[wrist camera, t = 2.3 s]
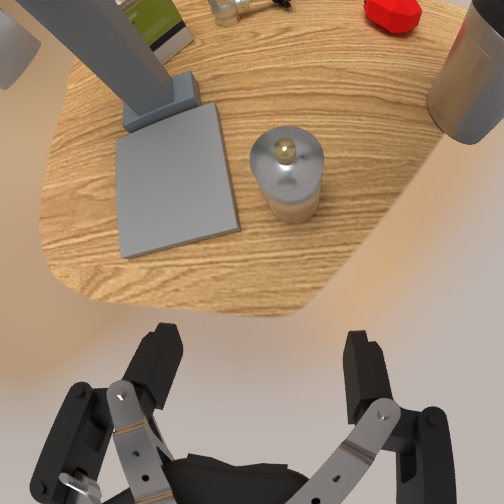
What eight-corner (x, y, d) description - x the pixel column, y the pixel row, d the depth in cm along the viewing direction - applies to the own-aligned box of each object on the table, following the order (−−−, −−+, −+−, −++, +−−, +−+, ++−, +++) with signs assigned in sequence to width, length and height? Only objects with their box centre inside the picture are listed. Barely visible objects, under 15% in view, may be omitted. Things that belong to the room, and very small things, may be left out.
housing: (290, 166, 29) (280, 102, 18) (329, 196, 28) (340, 143, 17) (258, 201, 29) (229, 152, 18) (296, 234, 28) (289, 199, 17)
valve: (222, 34, 34) (293, 13, 32) (210, 5, 27) (289, -17, 26) (212, 17, 35) (277, -3, 33) (200, -10, 29) (272, -30, 27)
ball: (381, 7, 30) (385, -25, 22) (420, 31, 28) (430, -1, 21) (355, 19, 30) (357, -16, 23) (397, 44, 28) (406, 8, 21)
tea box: (111, 57, 38) (68, 12, 24) (150, 24, 38) (116, -26, 23) (148, 80, 35) (97, 19, 21) (196, 40, 35) (160, -26, 20)
